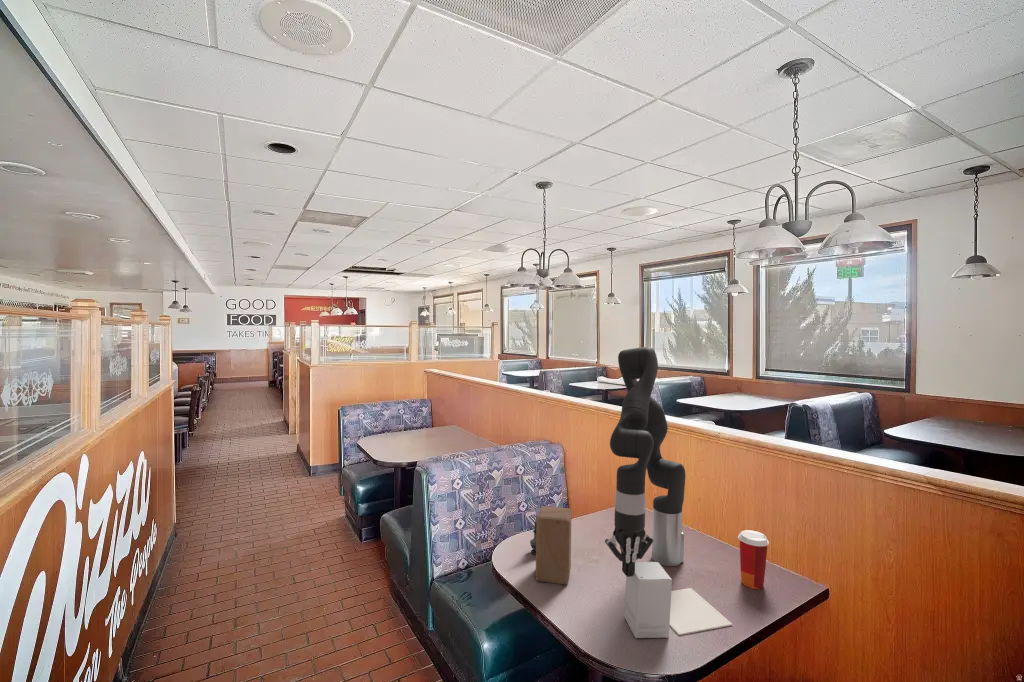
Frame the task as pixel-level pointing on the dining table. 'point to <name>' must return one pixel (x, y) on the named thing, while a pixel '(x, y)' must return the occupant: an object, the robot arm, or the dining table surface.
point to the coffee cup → (753, 558)
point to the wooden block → (553, 545)
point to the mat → (693, 613)
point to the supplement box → (648, 601)
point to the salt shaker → (534, 541)
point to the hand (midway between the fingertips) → (628, 575)
